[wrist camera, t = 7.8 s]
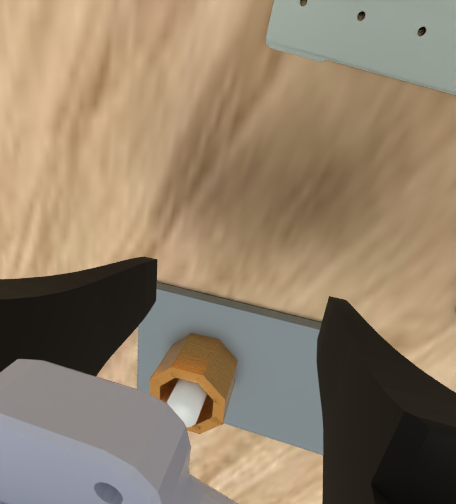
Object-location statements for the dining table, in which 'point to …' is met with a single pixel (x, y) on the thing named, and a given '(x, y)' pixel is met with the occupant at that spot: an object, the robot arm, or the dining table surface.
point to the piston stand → (241, 363)
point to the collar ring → (198, 376)
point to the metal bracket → (372, 37)
